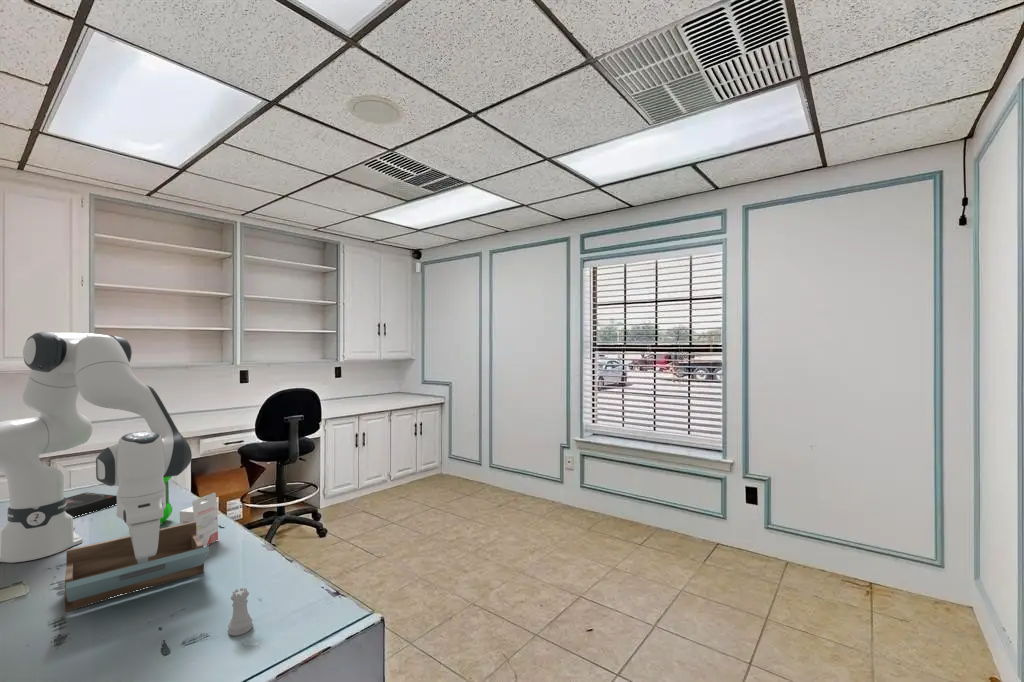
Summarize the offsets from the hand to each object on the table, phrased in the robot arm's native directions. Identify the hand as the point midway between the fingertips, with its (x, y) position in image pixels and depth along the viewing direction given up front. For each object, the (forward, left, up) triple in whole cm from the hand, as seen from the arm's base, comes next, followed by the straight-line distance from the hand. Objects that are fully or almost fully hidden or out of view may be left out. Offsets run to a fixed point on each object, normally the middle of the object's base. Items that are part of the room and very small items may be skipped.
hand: (142, 564), depth 108 cm
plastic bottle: (-59, +7, -9) cm, 60 cm away
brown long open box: (-13, 0, -9) cm, 16 cm away
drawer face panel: (-6, 0, -6) cm, 8 cm away
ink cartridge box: (-27, +15, -9) cm, 32 cm away
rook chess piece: (+28, +14, -9) cm, 32 cm away
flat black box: (-96, -13, -9) cm, 97 cm away
